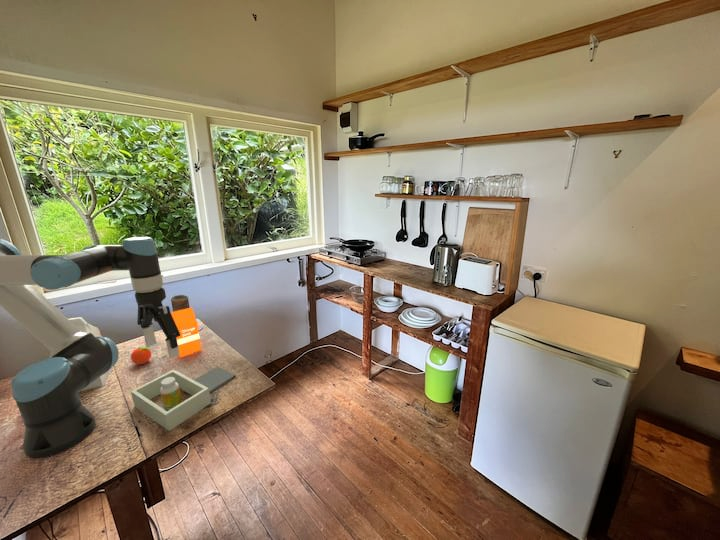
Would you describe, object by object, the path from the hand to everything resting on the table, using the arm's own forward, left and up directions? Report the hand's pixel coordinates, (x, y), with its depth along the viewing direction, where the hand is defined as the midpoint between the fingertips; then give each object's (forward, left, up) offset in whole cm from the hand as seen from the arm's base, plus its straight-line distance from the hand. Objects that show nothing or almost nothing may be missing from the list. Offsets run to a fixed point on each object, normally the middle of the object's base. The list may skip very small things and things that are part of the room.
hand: (162, 350), depth 95 cm
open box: (0, 0, -21) cm, 21 cm away
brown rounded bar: (+31, +45, -21) cm, 59 cm away
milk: (-9, +41, -21) cm, 47 cm away
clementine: (+8, +36, -21) cm, 43 cm away
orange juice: (+23, +29, -21) cm, 43 cm away
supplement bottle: (0, 0, -21) cm, 21 cm away
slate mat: (+15, 0, -21) cm, 26 cm away
